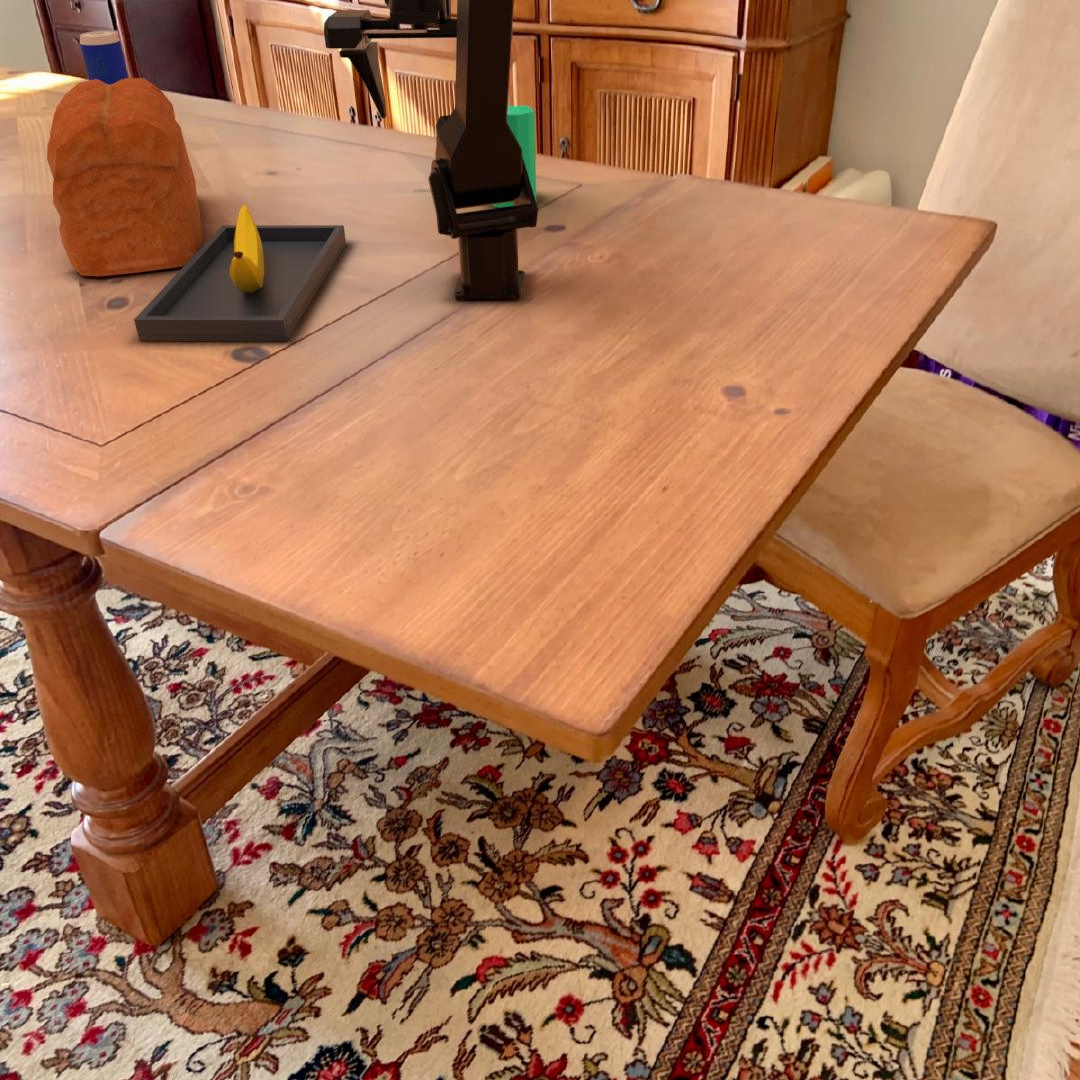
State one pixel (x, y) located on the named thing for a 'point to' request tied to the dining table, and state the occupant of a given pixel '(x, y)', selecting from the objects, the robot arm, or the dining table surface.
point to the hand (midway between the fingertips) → (426, 117)
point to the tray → (234, 315)
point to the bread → (122, 180)
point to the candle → (523, 140)
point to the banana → (247, 254)
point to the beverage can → (103, 56)
